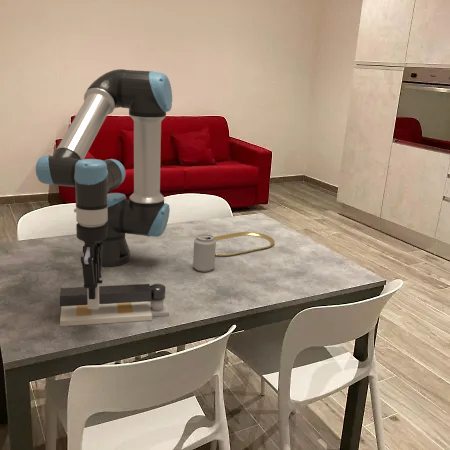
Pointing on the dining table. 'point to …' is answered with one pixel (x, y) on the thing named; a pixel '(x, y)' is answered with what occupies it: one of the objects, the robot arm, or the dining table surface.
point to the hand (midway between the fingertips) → (93, 307)
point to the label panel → (112, 313)
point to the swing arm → (113, 294)
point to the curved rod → (244, 235)
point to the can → (204, 252)
